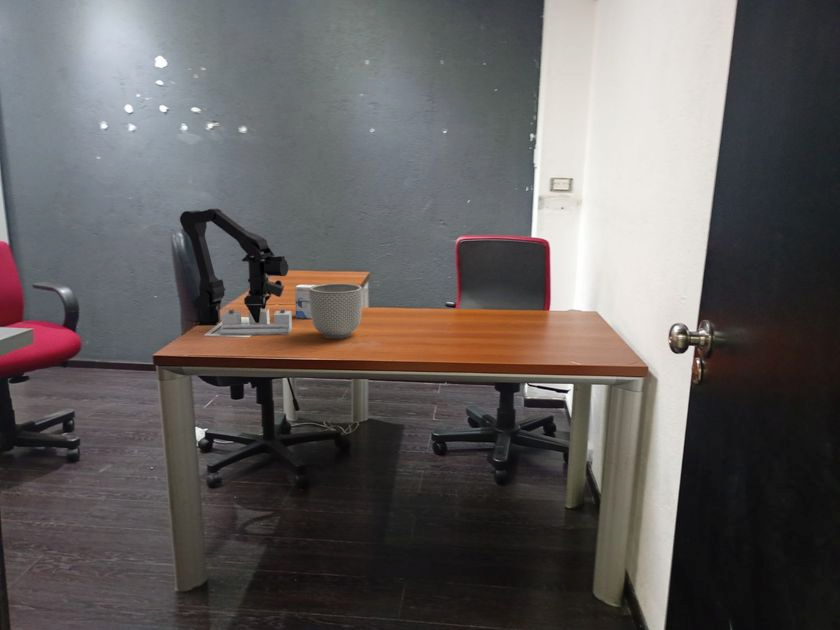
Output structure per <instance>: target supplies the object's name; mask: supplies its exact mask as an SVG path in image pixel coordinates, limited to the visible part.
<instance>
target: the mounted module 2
mask: <svg viewBox="0 0 840 630" xmlns="http://www.w3.org/2000/svg"><path fill="white" fill-rule="evenodd" d="M292 317H293V316H292V310H286V308H281V309H280V310H275V312H274V314H273V324H287V323H289V327H290V332H291V330H292V328H293V324H292V323H293V321H292V320H293V319H292Z"/></svg>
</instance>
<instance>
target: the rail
mask: <svg viewBox="0 0 840 630" xmlns="http://www.w3.org/2000/svg"><path fill="white" fill-rule="evenodd" d="M290 333H291V331H290V327H289V323H287V324H274V323H270V324H249V323H241V324H222V323H221V328H220V329H219V334H220V336H257V335H258V336H262V335H263V336H268V335H269V336H271V335H275V336H276V335H279V336H280V335H282V336H283V335H290Z"/></svg>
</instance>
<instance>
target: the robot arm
mask: <svg viewBox="0 0 840 630" xmlns="http://www.w3.org/2000/svg"><path fill="white" fill-rule="evenodd" d="M179 222H180V224H181V228H182V230H183V231H184V233H185V234H186V235H187V236H188V238H189V239H190V243H191V247H192V250H193V254H194V258H195V263H196V266H197V270H198V273H199V277H200V278H199V279H200V280H199V284H198V296H197V297H196V298H195V299H194V300H193V302H192V303H193V306H194V308H195V309H197V313H198V323H197V325H198V326H200V325H201V326H207V325H210V326H212V325H213V326H215V325H218V323H220V322H221V321H222V317H221V309H219V305H221V303H222V301H223V300H222V299H223V298H224V296H225V293H226V292H225V291H226V288H225V286H224V280H223V279H222V278H221V279H219V278H218V277H217V276H216V275H215V271H214V267H213V263H212V259H211V255H210V250H209V247H208V243H207V239H206V232H207V223H209V222H211V223H213V224H214V225H215V226H217V227H218V228H220V230H222V231H224V233H226V234H227V235H229V236H230V237H232V238H233V239H234V240H235V241H236V242H237V243H238V244H239V247H240V248H241V249H242V250H243V251H244V252H245V253H246V255H245V256H244V257H243V258H242V259H241V261H242V262H243V263H245V262H247V266H248V278H247V282H248V283H249V284H248V285H249V287H248V288H249V289H248V294H247V295H246V296H245V297H244V299H243V304H244V305H245V307H246V308H247V310H248V312H249V311H250V313H251V315H252V317H253V319H254V320H255V322H256V323H259V320H260V312H261V309H267V308H266V307H267V302H268V300H269V299H270V298H272V295H274V296H275V297H279V298H280V297H281V296H282V295H283V292H284V288H285V286H284V285H283V283H282V280H279V279H277V280H276V281H269V277H268V276H273V277H286V276H287V275H288V271H289V264H288V261H287V260H286V259H285V257H286V256H285V255H275V254H274V252H273V251H272V250H271V248H270V247H269V245H268V241H267V239H265V238H264V237H262V236H260V235H259V234H256V233H253V232H250V231H248V230H247V229H245V228H244V227H242V225H240V224H239V223H237V222H236V221H235V220H233V219H232V218H231V217H230V216H228V215H227V214H225V213H224V212H223V211H222V210H221V209H220V208H217V207H216V208H215V207H214V208H208V209H205V210H202V211H201V210H198V209H197V210H196V209H195V210H185V211H183V212H182V213H181V215H180V216H179Z"/></svg>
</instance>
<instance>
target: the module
mask: <svg viewBox="0 0 840 630" xmlns="http://www.w3.org/2000/svg"><path fill="white" fill-rule="evenodd" d="M248 324H271V322H270V309H269V308H265V309H261V312H260V320H259V323H256V322H255V320H254V319H253V317H252V315H251V313H250V311H249V310H248Z"/></svg>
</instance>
